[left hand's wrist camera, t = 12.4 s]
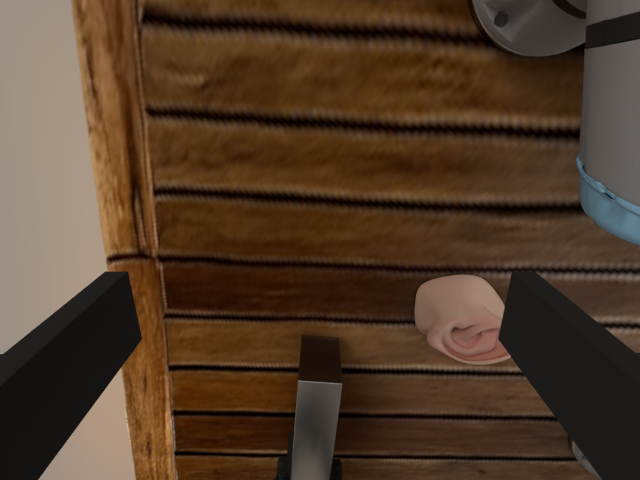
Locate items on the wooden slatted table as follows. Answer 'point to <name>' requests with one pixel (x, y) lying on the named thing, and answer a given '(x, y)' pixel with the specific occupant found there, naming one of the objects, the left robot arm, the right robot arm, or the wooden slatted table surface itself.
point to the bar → (316, 408)
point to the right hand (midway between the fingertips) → (310, 440)
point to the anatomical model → (461, 318)
